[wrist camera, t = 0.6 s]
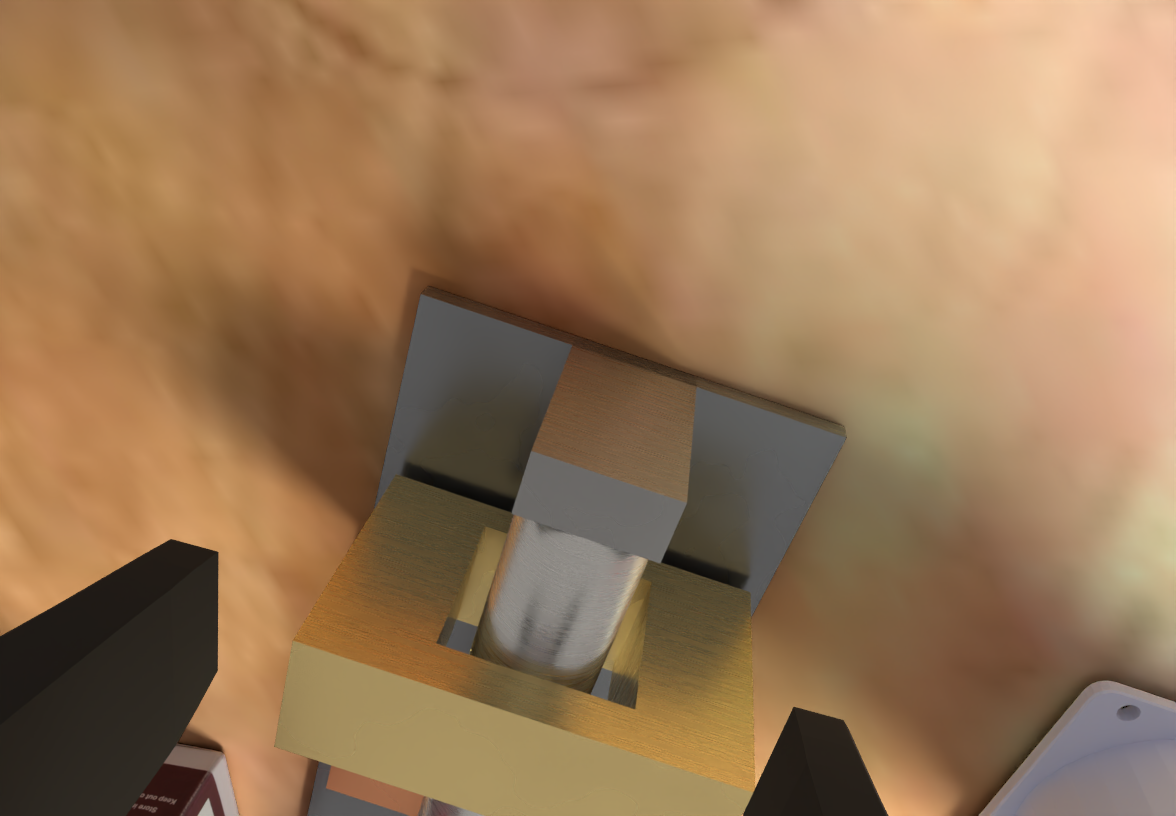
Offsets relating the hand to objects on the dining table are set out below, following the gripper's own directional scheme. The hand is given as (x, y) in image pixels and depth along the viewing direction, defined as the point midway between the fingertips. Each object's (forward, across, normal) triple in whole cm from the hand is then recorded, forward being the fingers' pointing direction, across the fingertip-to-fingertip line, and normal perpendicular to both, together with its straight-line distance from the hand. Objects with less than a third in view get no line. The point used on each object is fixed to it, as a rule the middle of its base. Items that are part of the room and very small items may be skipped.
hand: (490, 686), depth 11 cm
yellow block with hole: (+10, 0, +6) cm, 11 cm away
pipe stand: (+10, 0, +11) cm, 15 cm away
